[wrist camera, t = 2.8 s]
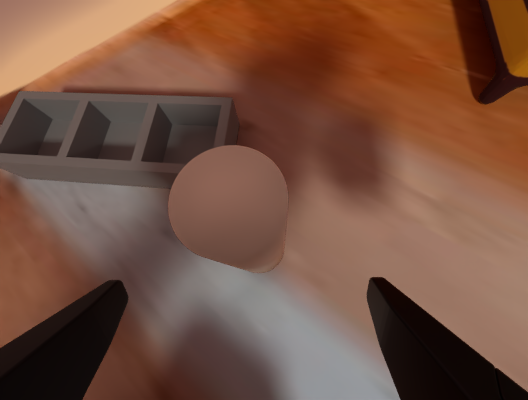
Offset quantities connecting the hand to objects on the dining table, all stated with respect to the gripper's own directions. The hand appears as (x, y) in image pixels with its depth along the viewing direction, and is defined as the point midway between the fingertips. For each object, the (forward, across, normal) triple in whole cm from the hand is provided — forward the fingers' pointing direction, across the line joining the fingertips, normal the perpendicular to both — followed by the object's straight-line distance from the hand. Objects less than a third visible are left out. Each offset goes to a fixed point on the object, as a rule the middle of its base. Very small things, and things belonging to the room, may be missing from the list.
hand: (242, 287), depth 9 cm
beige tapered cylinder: (+9, 0, +5) cm, 11 cm away
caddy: (+16, +12, -1) cm, 20 cm away
